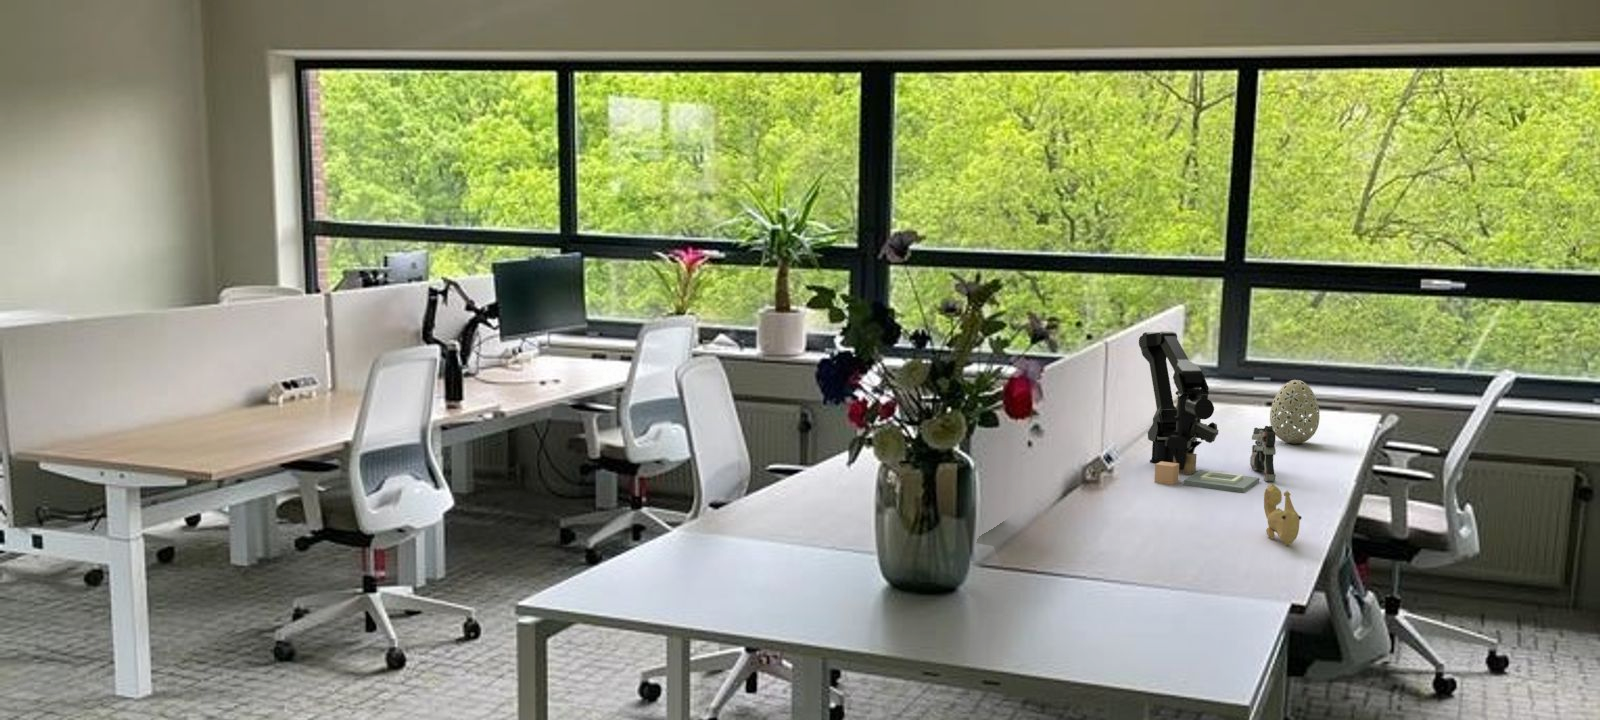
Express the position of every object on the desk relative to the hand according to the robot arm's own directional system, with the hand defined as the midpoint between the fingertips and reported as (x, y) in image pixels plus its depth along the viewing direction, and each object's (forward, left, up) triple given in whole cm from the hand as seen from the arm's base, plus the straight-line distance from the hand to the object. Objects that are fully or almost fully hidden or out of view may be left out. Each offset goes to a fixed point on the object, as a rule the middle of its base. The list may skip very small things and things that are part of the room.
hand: (1184, 468), depth 402 cm
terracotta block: (0, -16, -1) cm, 16 cm away
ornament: (+15, +64, -1) cm, 66 cm away
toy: (+41, -62, -1) cm, 74 cm away
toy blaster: (+19, +10, -1) cm, 22 cm away
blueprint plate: (+13, -9, -1) cm, 16 cm away
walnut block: (0, 0, -1) cm, 1 cm away
